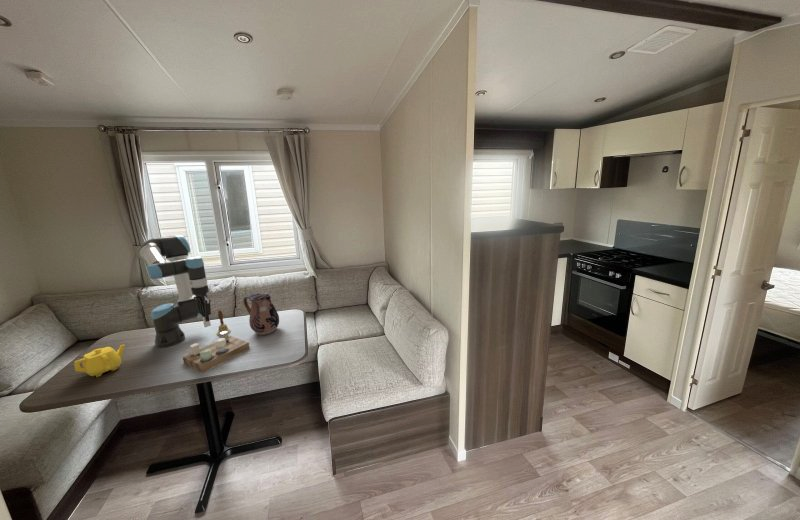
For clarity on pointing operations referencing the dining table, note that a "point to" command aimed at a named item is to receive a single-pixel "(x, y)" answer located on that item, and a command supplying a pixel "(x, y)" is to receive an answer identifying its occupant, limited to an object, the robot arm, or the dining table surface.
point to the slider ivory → (195, 349)
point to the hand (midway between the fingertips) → (207, 326)
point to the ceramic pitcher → (262, 313)
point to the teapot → (100, 361)
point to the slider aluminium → (224, 335)
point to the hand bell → (222, 324)
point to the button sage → (206, 354)
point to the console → (216, 354)
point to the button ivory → (220, 343)
